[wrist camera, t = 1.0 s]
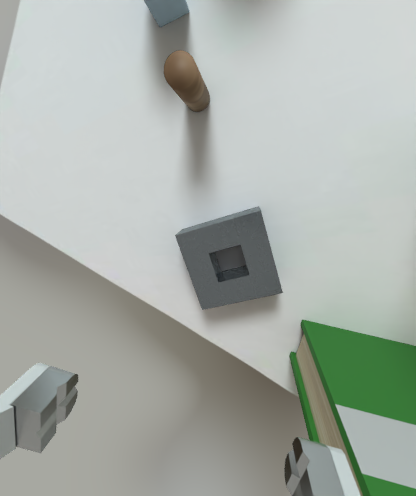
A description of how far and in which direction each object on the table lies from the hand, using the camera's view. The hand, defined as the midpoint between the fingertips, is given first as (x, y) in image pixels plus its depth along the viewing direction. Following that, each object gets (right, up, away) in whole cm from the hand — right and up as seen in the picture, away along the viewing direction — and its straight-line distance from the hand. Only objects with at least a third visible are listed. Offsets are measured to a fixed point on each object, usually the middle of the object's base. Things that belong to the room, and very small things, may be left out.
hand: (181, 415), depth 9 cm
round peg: (0, +26, +23) cm, 34 cm away
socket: (+4, +5, +28) cm, 29 cm away
